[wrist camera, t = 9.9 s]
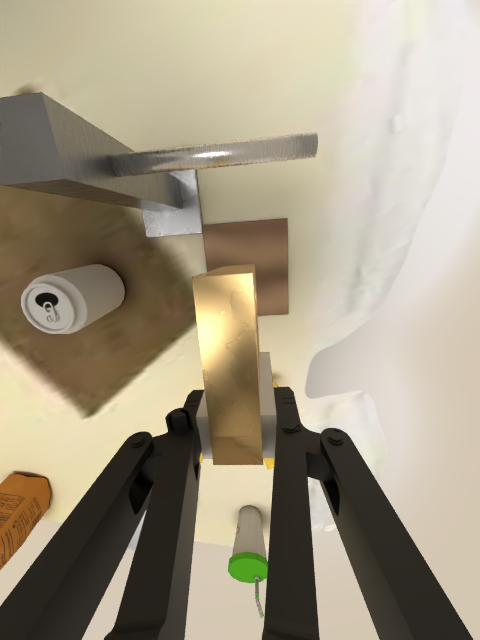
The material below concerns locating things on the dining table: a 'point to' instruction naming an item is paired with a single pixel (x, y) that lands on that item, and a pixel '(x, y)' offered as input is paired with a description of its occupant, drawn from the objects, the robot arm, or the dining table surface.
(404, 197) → the dining table surface
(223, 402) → the c link
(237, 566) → the cup
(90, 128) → the stand
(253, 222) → the walnut board
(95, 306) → the can
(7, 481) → the coffee package
